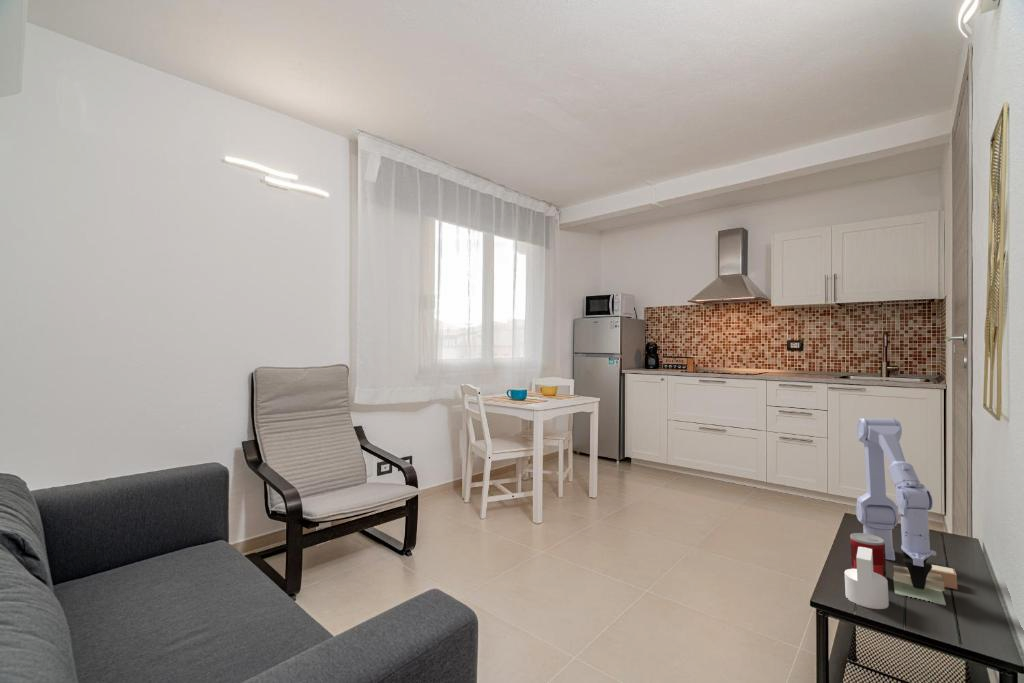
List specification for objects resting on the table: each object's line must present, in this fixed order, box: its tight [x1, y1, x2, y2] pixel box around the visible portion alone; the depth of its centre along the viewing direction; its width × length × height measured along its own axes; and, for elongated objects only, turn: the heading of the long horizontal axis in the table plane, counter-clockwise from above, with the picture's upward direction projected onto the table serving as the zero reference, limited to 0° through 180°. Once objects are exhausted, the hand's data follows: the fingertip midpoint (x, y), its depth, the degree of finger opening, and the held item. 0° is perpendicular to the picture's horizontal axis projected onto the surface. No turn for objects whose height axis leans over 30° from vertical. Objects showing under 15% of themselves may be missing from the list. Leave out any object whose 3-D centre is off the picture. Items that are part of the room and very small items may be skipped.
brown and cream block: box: [929, 564, 958, 590], centre depth 130 cm, size 4×9×4 cm, turn 53°
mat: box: [892, 576, 947, 606], centre depth 126 cm, size 11×10×1 cm
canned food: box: [849, 532, 887, 579], centre depth 134 cm, size 8×8×11 cm
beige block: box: [892, 564, 945, 592], centre depth 126 cm, size 6×10×2 cm, turn 53°
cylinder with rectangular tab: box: [844, 547, 890, 610], centre depth 122 cm, size 9×9×12 cm
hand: (917, 583), depth 126 cm, fingers closed on beige block, 5 cm apart
